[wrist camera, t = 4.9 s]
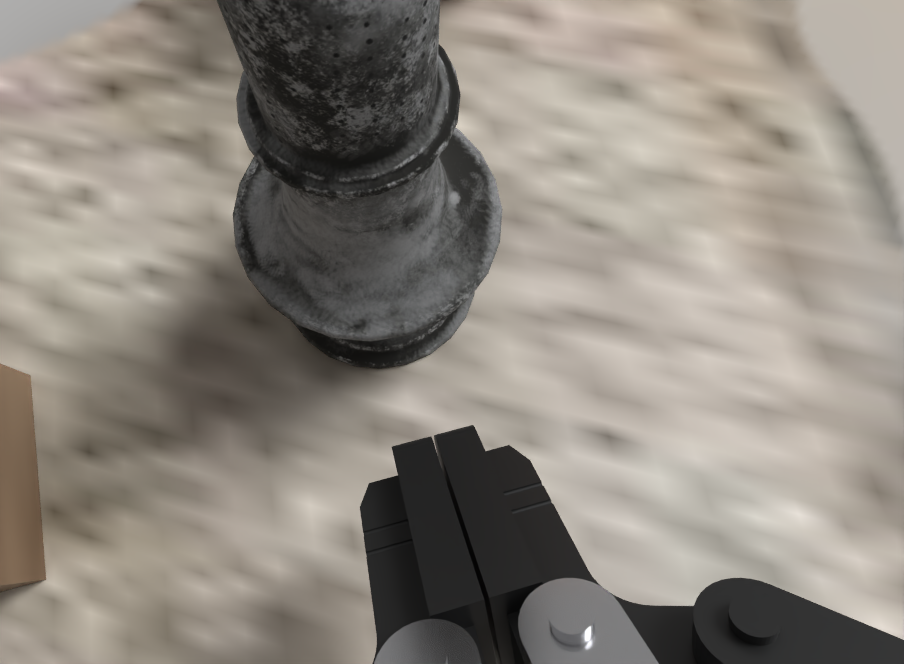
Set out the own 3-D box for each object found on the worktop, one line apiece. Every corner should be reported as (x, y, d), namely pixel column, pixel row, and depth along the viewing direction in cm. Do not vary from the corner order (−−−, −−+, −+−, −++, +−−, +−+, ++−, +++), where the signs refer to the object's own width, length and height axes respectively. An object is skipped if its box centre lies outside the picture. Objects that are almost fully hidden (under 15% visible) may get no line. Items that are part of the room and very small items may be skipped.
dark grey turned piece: (227, 315, 17) (-212, -163, 5) (341, 148, 18) (204, -494, 7) (423, 419, 16) (425, 141, 4) (522, 236, 18) (706, -307, 6)
